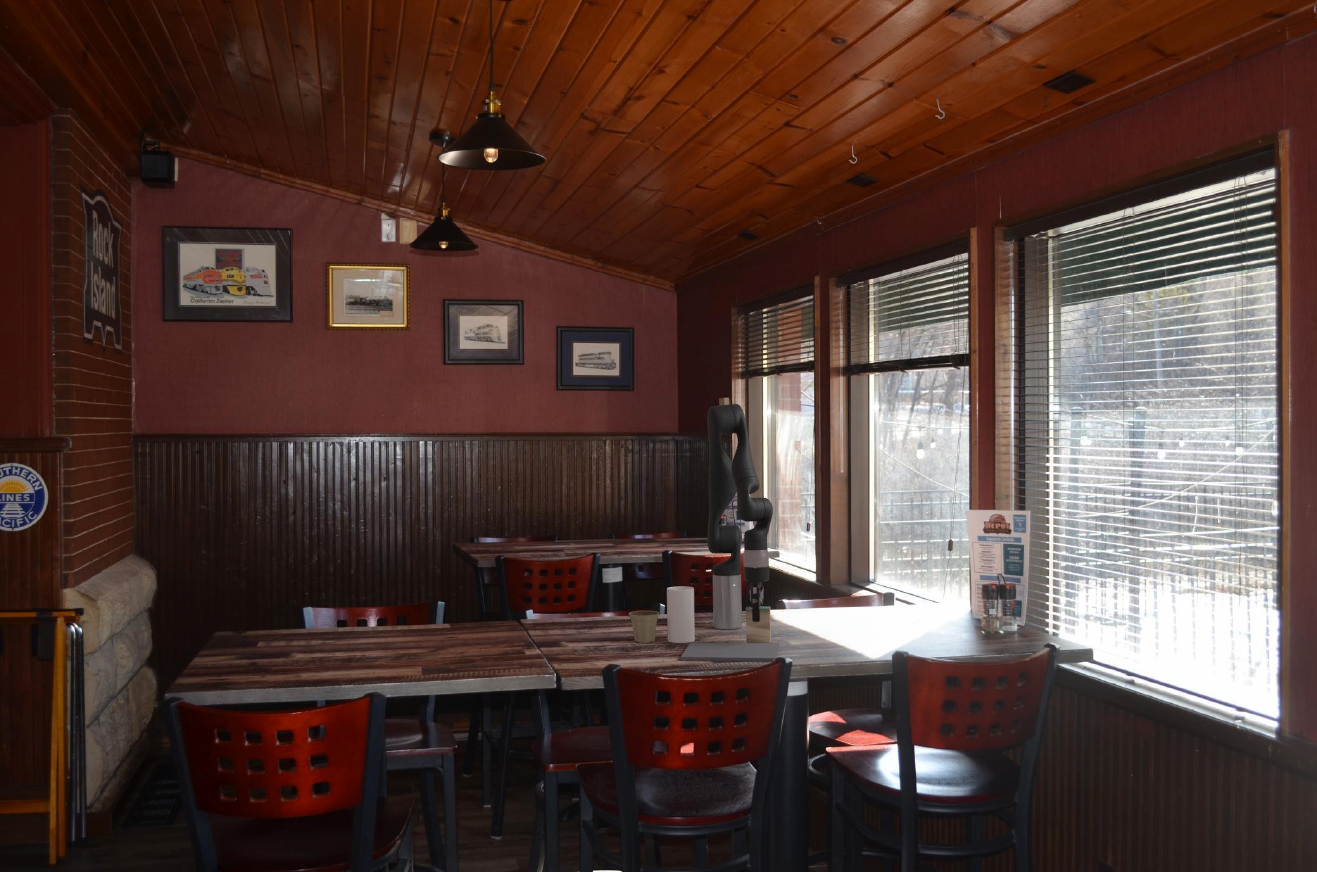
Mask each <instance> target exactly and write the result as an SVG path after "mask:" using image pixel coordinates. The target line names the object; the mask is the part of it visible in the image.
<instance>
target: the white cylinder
mask: <svg viewBox="0 0 1317 872" xmlns="http://www.w3.org/2000/svg"><path fill="white" fill-rule="evenodd" d="M666 609H667V610H666V612H667V613H666V614H667V620H666V621H667V641H668V642H669V643H673V644H687V643H691V642H696V641H695V636H696V635H695V589H694V587H692V586H683V585H682V586H671V587H667V588H666Z"/></svg>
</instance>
